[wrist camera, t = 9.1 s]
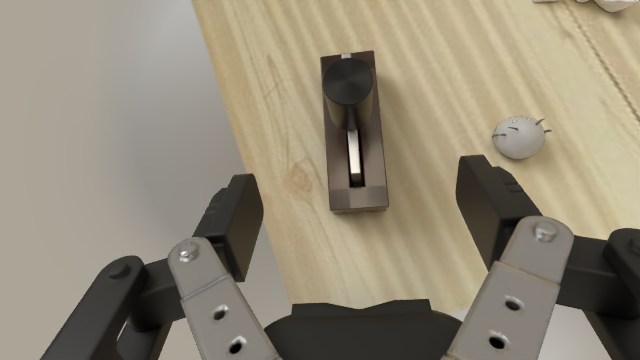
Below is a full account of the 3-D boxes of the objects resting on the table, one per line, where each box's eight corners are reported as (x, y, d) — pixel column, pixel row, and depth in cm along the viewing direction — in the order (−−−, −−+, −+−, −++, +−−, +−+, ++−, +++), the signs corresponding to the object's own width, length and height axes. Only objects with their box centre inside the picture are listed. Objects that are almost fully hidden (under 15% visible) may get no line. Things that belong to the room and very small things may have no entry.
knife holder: (386, 210, 25) (389, 206, 22) (333, 214, 26) (329, 210, 23) (372, 70, 27) (373, 49, 24) (324, 76, 28) (320, 56, 25)
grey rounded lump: (481, 128, 25) (494, 115, 23) (534, 112, 25) (553, 98, 23) (496, 166, 25) (511, 158, 22) (551, 151, 24) (572, 141, 22)
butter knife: (374, 187, 26) (380, 154, 16) (341, 190, 26) (326, 159, 16) (366, 91, 27) (366, 7, 17) (334, 95, 27) (317, 14, 18)
